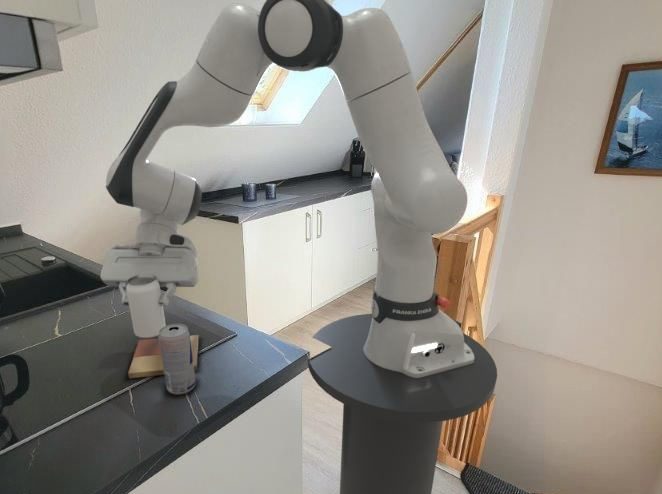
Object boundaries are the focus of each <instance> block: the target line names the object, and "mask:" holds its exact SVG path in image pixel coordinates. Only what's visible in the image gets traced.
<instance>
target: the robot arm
mask: <svg viewBox="0 0 662 494" xmlns="http://www.w3.org/2000/svg"><path fill="white" fill-rule="evenodd" d="M274 65H275V66H276V67H278V68H280V69H282V70H285V71H289V72H309V71H313V70H315V69H319V68H328V69H329V70H331V72H333V74H334V75H335V77H336V79H337V81H338V83H339V86H340V89H341V91H342V94H343V97H344V100H345V102H346V106H347V108H348V111H349V114H350V117H351V119H352V122H353V125H354V128H355V130H356V133H357V136H358V139H359V142H360V145H361V147H362V148H363V151H364V152H365V153H366V155H367V156H368V159H369V160H370V162H371V164H372V166H373V168H374V169H375V171H376V173H375V174H374V176H373V177H372V180H371V183H370V184H371V185H370V193H371V197H372V201H373V214H374V228H375V238H376V248H377V250H376V251H377V252H376V253H377V257H376V258H377V261H376V273H375V274H376V275H375V287H374V288H373V290H372V299H371V307H370V310H371V314H372V322H371V327H370V331H369V335H368V338H367V341H366V343H365V345H364V348H363V351H364V354H365V356H366V357H367V358H368V359H369V360H370V361H371V362H373V363H374V364H376V365H378V366H380V367H383V368H385V369H389V370H393V371H398V372H401V373H403V374H405V375H407V376H410V377H413V378H421V377H425V376H428V375H432V374H436V373H439V372H443V371H447V370H450V369H454V368H458V367H462V366H465V365H469V364H472V363H474V354H473V352H472V350H471V349H470V348H469V346H468V345H467V344H466V343H465V342H464V336H463V333H464V331H463V330H462V323H461V322H460V321H458V320H455V319H453V318H452V317H450V316H449V315H447V313H445V312H443V310H448V309H449V307H451V303H452V302H451V301H450V300H449V299H447V298H446V297H445V296H440V294H439V293H437V292H435V291H434V286H435V277H436V270H437V262H438V258H437V257H438V256H437V251H436V248H435V246H434V242H433V237H432V235H439V234H443V233H446V232H448V231H450V230H452V229H453V228H454V227H456V226H457V225H458V224H459V222H460V221H461V220H462V219H463V217H464V215H465V212H466V210H467V207H468V193H467V190H466V187H465V185H464V184H463V182H461V180H460V179H459V178H458V177H457V176H456V174H455V173H454V171H453V170H452V169H451V166H450V165H449V163H448V161H447V158H446V157H445V154H444V152H443V151H442V148H441V146H440V145H439V142H438V141H437V139H436V137H435V135H434V133H433V131H432V129H431V126H430V125H429V122H428V119H427V117H426V114H425V112H424V108H423V105H422V102H421V98H420V95H419V92H418V89H417V88H418V87H417V85H416V82H415V78H414V74H413V71H412V68H411V64H410V61H409V58H408V55H407V53H406V50H405V48H404V45H403V43H402V40H401V38H400V36H399V33H398V32H397V29H396V28H395V26H394V24H393V22H392V20H391V18H390V16H389V15H388V13H386V11H384V10H383V9H381V8H379V7H366V8H361V9H358V10H356V11H354V12H352V13H349V14H347V15H341V13H339V11H337V10H336V9H335V8H334V7H333V6H332V5H331V3H330V2H329V0H265V2H264V3H263V5H262V7H261V9H260V11H259V9H258V10H257V9H256V8H254V7H253V6H251V5H249V4H246V3H240V2H233V3H230V4H228V5H226V6H225V7H223V8H222V10H221V11H220V13H219V15H218V16H217V17H216V19H215V20H214V22H213V24H212V25H211V27H210V28H209V31H208V33H207V34H206V37H205V39H204V41H203V43H202V45H201V47H200V49H199V52H198V53H197V56H196V59H195V61H194V64H193V65H192V67H191V68H190V70H189V71H188V72H187V73H186V74H185V75H184V76H183V77H181V78H180V79H178V80H174V81H173V80H171V81H170V80H169V81H167V82H166V83H165V84H163V86H162V87H161V88H160V89H159V90H158V91H157V93H156V95H155V96H154V98H153V99H152V100H151V102H150V104H149V106H147V107H148V108H147V109H146V111H145V112H144V114H143V116H142V117H141V119H140V121H139V122H138V124H137V125H136V128H135V129H134V130H133V132H132V134H131V136H130V137H129V139H128V141H127V142H126V144H125V146H124V147H123V149H122V150H121V151H120V152H119V154H118V155H117V157H116V158H115V159H114V161H113V162H112V163H111V165H110V167H109V168H108V170H107V174H106V177H105V189H106V191H107V192H108V194H109V195H110V196H111V198H112V200H114V202H115V203H116V204H118V205H122V206H127V207H131V208H137V209H140V211H139V216H140V220H139V223H138V225H137V227H136V230H135V236H134V241H133V244H127V245H122V244H117V245H114V246H113V247H111V248H109V249H108V250H107V252H106V257H105V260H104V263H103V265H102V268H101V271H100V275H99V277H100V279H101V281H102V282H103V283H104V285H106V286H108V287H118V289H119V291H120V294H121V301H120V302H121V305H122V306H128V307H129V302H128V297H127V290H126V288H127V285H128V283H127V280H128V279H129V278H131V277H134V276H137V275H139V276H138V277H152V278H154V276H156V280H157V281H158V283H159V285H160V288H166V291H165V293H164V294H163V295H162V294H161V296H160V297H159V299H160V300H159V305H160V306H163V307H168V306H169V302H170V299H171V298H172V297H173V296H174V294H175V293H176V292H177V288H194V287H196V286H197V285H198V283H199V279H200V264H199V261H198V259H197V258H198V250H197V247H196V246H195V244H194V242H193V241H192V239H191V238H189V237H188V236H184V235H181V234H179V232H178V230H179V226H183V225H185V224H187V223H189V222H191V221H193V220H195V218H196V217H197V216H198V214H199V212H200V208H201V202H202V196H203V192H202V189H201V186H200V184H199V182H198V180H196V178H194V177H192V176H189V175H187V174H185V173H182V172H179V171H178V170H175V169H171V168H168V167H165V166H163V165H160V164H158V163H155V162H153V161H150V160H149V159H148V157H150V154H151V153H152V151H153V150H154V148H155V147H156V145H157V143H158V142H159V140H160V139H161V137H162V136H163V135H164V133H165V132H166V131H168V130H170V129H172V128H175V127H183V126H184V127H185V126H186V127H187V126H189V127H190V126H191V127H192V126H193V127H202V128H203V127H204V128H220V127H225V126H228V125H231V124H234V123H235V122H237V121H238V120H239V119H241V117H242V116H243V115H244V114H245V112H246V110H247V109H248V107H249V105H250V103H251V101H252V99H253V97H254V95H255V93H256V91H257V89H258V87H259V85H260V82H261V80H262V78H263V77H264V75H265V73H266V72H267V71H268V70H269V69H270V68H271V67H272V66H274ZM153 275H154V276H153ZM138 277H137V278H138ZM439 307H440V308H441V309H442V310H441V309H440V308H439Z"/></svg>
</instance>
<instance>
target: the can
mask: <svg viewBox="0 0 662 494" xmlns="http://www.w3.org/2000/svg"><path fill="white" fill-rule="evenodd" d="M138 276H139V275H137V276H134V277H131V278H129V279H128V280H127V283H128V285H127V288H126V290H127V297H128V302H129V306H128V307H129V313H130V318H131V323H132V329H133V333H134V335H135V336H136V337H138V338H139V339H154V338H157V337H158V336H159V331H160V329H161V328H163V327H165V326H167V325H166V319H165V312H164V306H160V305H159V300H160V299H159V297H160V296H162V292H161V287H160V285H159V283H158V281H157V280H156V276H154V275H153V276H154V278H152V277H138ZM137 277H138V278H137Z"/></svg>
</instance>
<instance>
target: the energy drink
mask: <svg viewBox="0 0 662 494" xmlns="http://www.w3.org/2000/svg"><path fill="white" fill-rule="evenodd" d="M188 328H189V327H188V326H187V325H186V324H182V323H171V324H167V325H166V326H165V327H163V328H161V329H160V331H159V336H157V337H158V338H159V344H160V350H161V357H162V363H163V369H164V375H163V376H164V381H165V387H166V390H167V392H168V393H170V394H171V395H177V396H178V395H184V394H185V395H186V394H188V393H189V392H191V391H192V390H194V388H195V386H196V384H197V381H196V373H195V371H194V365H193V357H192V349H191V341H190V336H191V334H190V331H189V329H188Z"/></svg>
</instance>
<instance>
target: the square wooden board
mask: <svg viewBox="0 0 662 494" xmlns="http://www.w3.org/2000/svg"><path fill="white" fill-rule="evenodd" d="M190 341H191V349H192V357H193V365H194V372H198V361H199V360H198V359H199V344H200V337H199V334H194V335H190ZM127 375H128V378H129V379H136V378H138V379H139V378H146V377H147V378H148V377H155V376H165V375H164V369H163V363H162V357H161V350H160V344H159V338H157V337H155V338H145V339H139V340H138V342H137V344H136V348H135V351H134V353H133V358H132V361H131V364H130V367H129V370H128V372H127Z"/></svg>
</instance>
